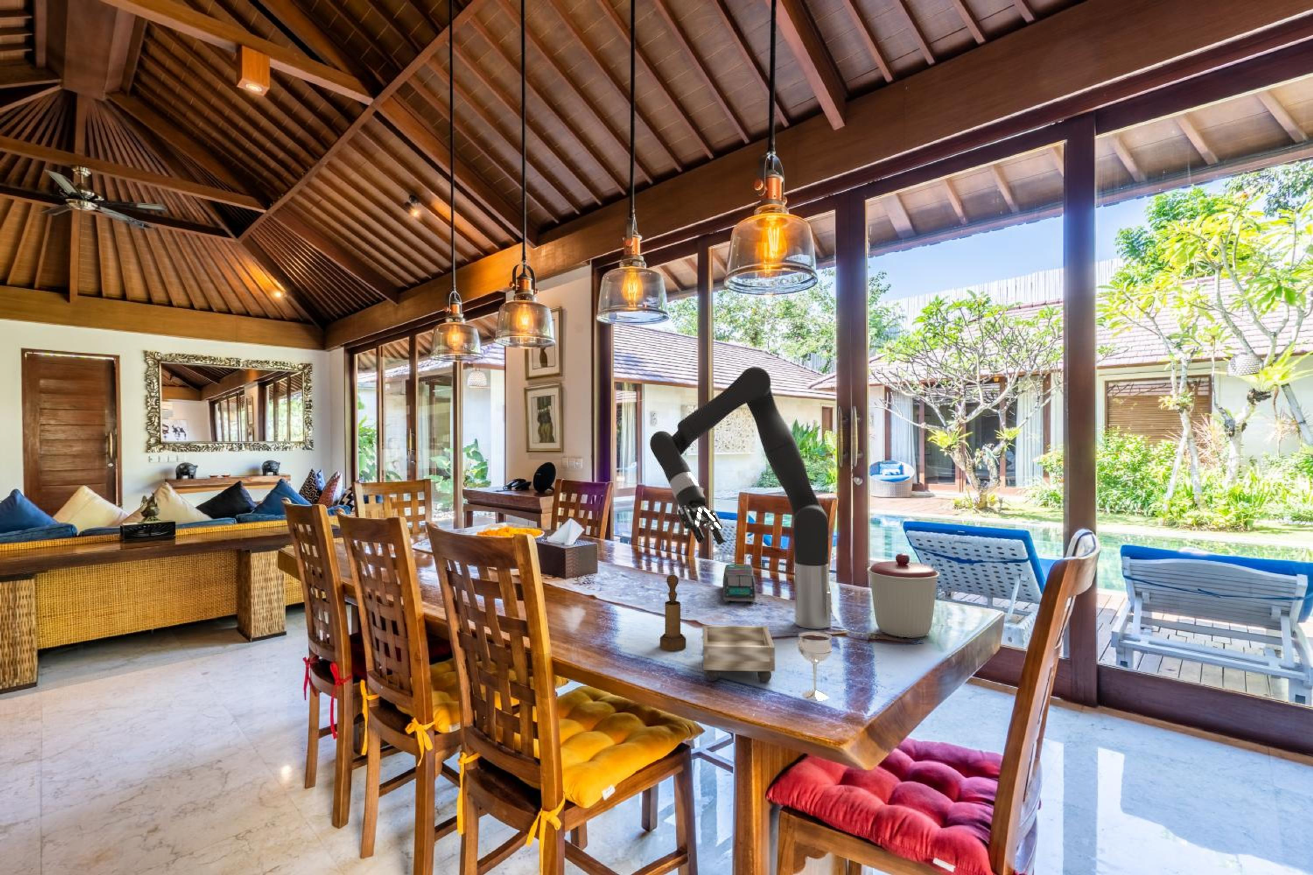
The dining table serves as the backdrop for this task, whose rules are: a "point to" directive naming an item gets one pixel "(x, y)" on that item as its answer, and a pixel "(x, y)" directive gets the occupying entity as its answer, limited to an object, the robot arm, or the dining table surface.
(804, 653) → the wineglass
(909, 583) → the canister
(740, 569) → the toy van
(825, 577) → the robot arm
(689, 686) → the dining table surface
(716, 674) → the cart
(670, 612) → the mortar and pestle
